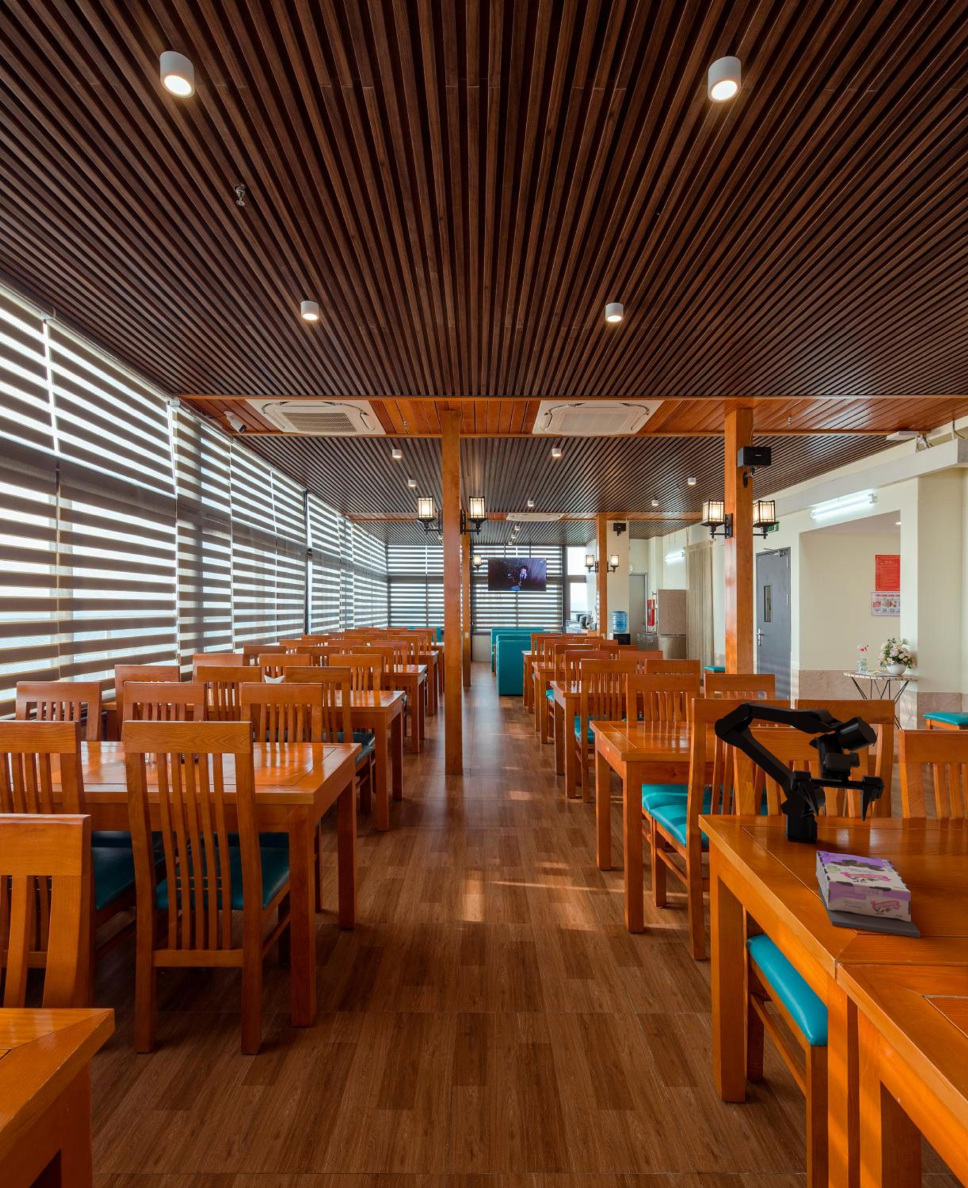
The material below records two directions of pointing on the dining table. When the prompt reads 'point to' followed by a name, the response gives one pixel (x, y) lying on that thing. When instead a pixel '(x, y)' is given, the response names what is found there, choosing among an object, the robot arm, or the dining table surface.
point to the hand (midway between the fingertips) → (840, 818)
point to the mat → (870, 922)
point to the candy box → (863, 886)
